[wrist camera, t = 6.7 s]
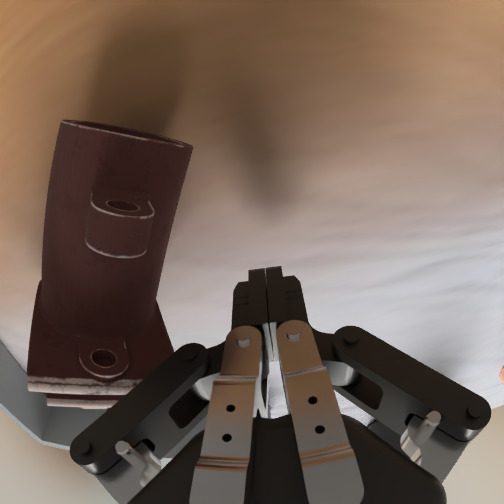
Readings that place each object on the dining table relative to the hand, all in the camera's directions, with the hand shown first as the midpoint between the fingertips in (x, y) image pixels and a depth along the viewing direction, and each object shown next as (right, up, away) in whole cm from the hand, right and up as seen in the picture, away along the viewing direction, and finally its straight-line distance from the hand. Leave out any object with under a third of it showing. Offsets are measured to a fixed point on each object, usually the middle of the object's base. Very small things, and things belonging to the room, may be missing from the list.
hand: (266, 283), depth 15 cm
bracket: (-8, +1, +3) cm, 9 cm away
